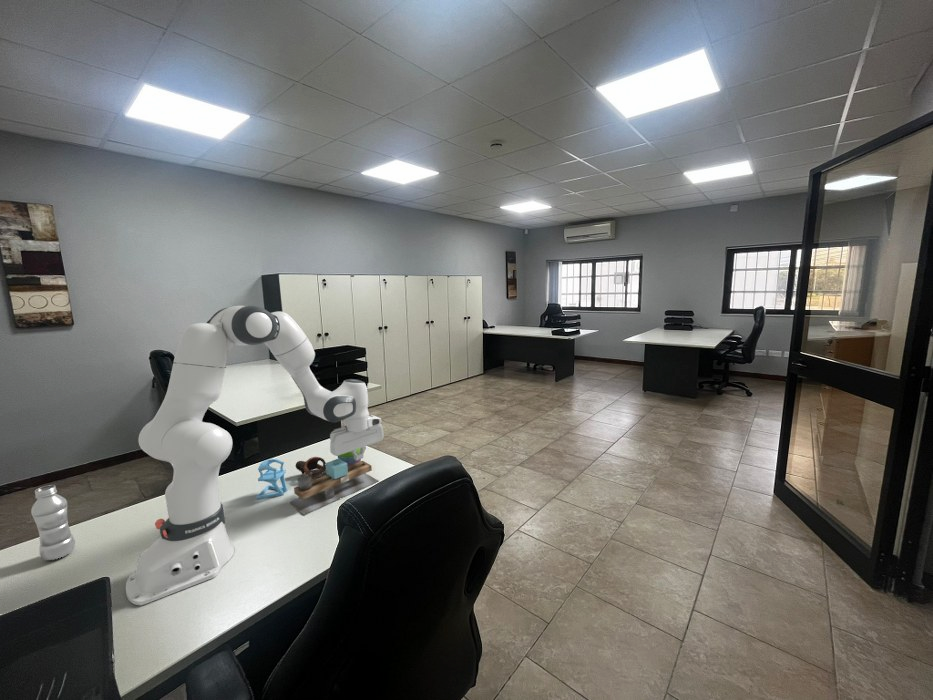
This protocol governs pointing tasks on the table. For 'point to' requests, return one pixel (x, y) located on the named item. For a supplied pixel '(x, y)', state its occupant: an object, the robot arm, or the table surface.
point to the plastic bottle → (52, 523)
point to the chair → (272, 478)
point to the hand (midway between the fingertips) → (358, 458)
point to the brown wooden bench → (330, 488)
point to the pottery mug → (311, 467)
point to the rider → (336, 468)
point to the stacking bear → (349, 457)
